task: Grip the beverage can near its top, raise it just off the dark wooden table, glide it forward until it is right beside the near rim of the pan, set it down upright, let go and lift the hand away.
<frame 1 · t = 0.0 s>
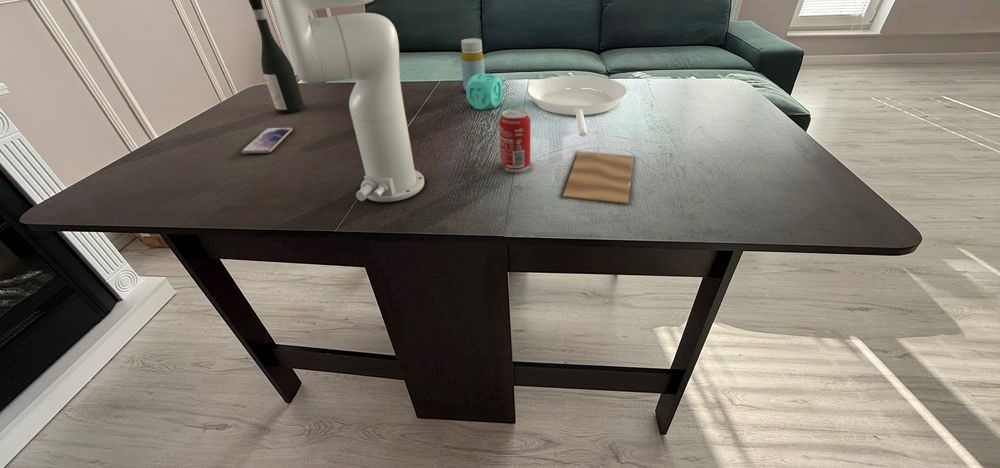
decorative dice: (485, 105, 125), on the table
beverage can: (515, 167, 92), on the table
smartphone: (269, 142, 108), on the table
wooden trivet: (600, 175, 87), on the table
pan: (576, 113, 118), on the table
wine bottle: (291, 110, 128), on the table
bottle: (474, 91, 137), on the table
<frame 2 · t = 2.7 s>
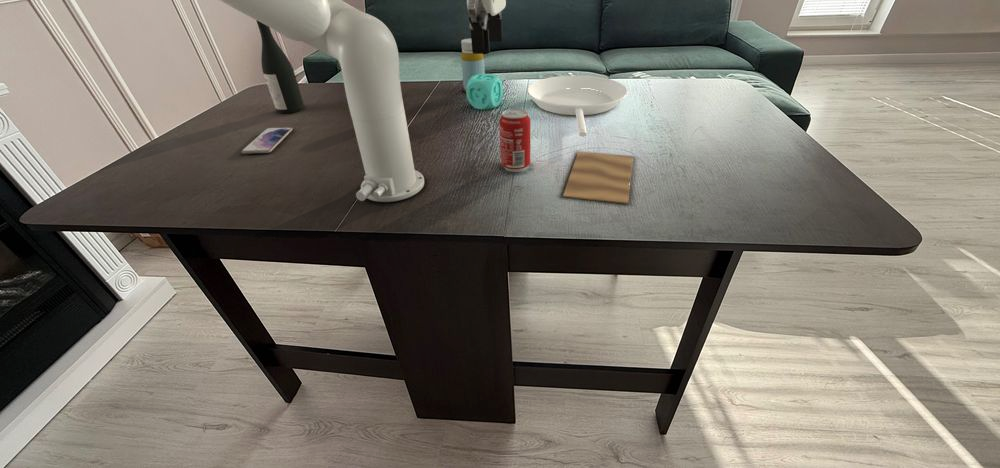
hand: (488, 47, 82), 24 cm above the table, tool pointing down, fingers open, 9 cm apart
nothing on the table moved.
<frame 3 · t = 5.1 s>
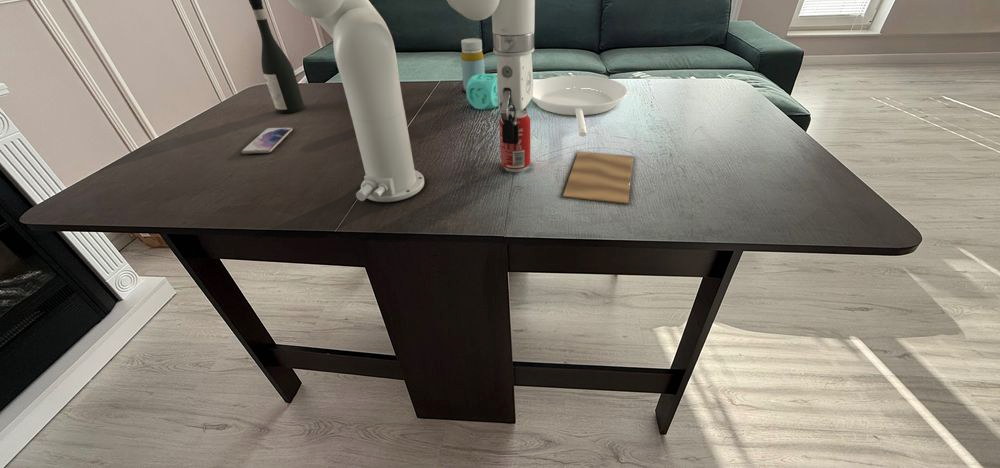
hand: (515, 135, 87), 7 cm above the table, tool pointing down, fingers closed on beverage can, 6 cm apart
beverage can: (515, 167, 92), on the table, touching gripper
everything else where it was.
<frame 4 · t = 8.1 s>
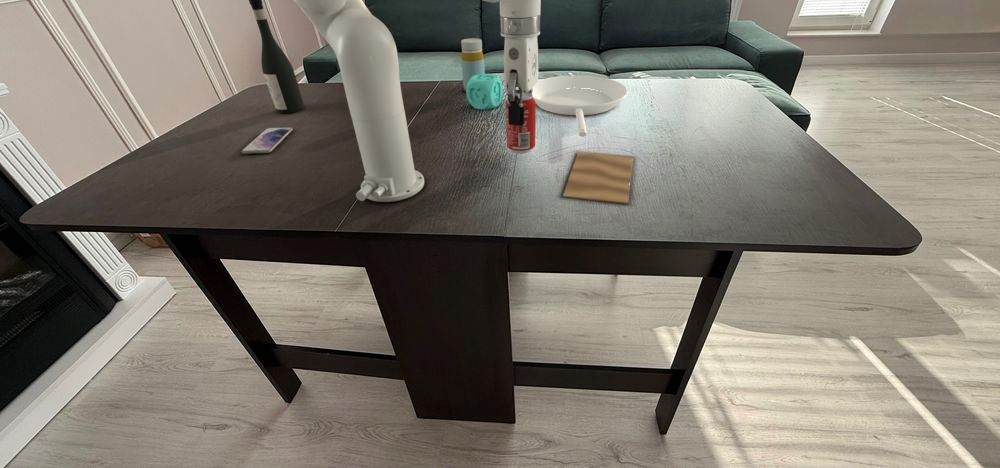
hand: (520, 117, 90), 9 cm above the table, tool pointing down, fingers closed on beverage can, 6 cm apart
beverage can: (521, 150, 94), point 2 cm above the table, touching gripper
everything else where it was.
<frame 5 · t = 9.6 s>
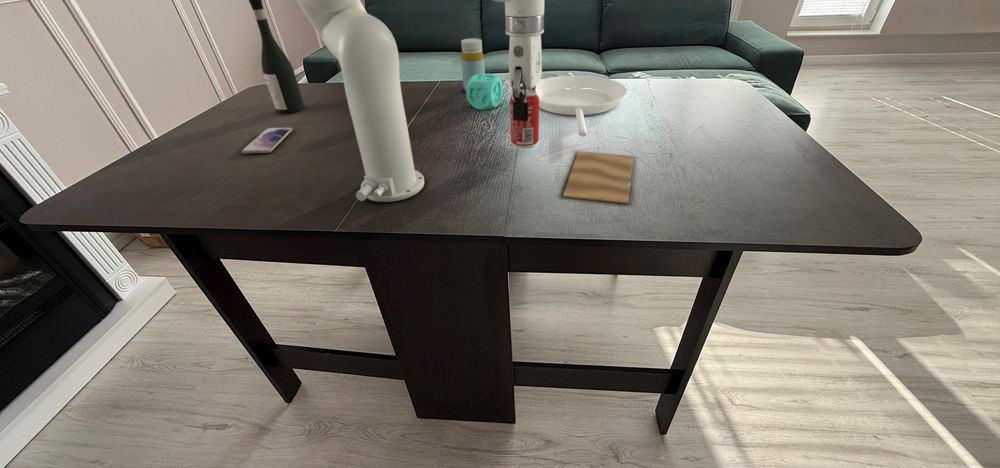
hand: (524, 113, 93), 9 cm above the table, tool pointing down, fingers closed on beverage can, 6 cm apart
beverage can: (524, 145, 97), point 1 cm above the table, touching gripper
everything else where it was.
when the fingers open (7 cm above the table, at t = 10.9 s): beverage can stays where it is, on the table.
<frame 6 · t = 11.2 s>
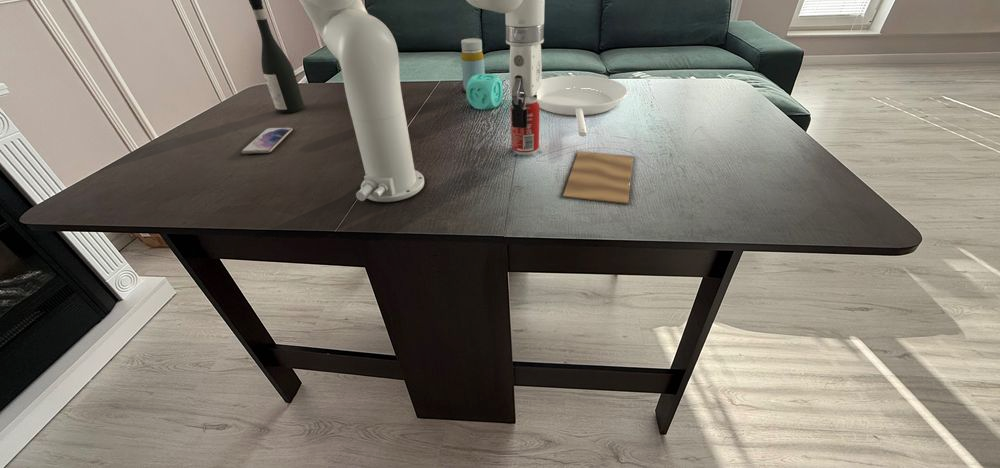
hand: (524, 119, 94), 8 cm above the table, tool pointing down, fingers open, 8 cm apart
beverage can: (525, 151, 98), on the table
everything else where it was.
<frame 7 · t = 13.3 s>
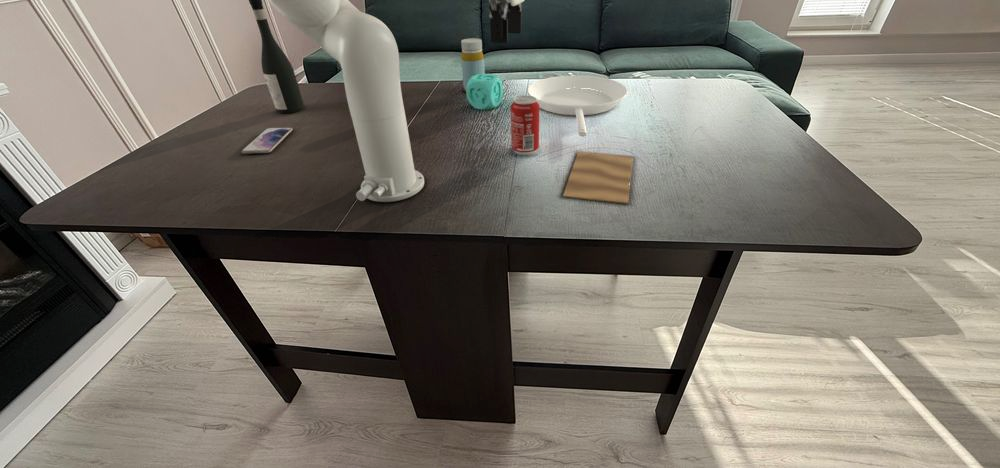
hand: (506, 37, 83), 25 cm above the table, tool pointing down, fingers open, 9 cm apart
nothing on the table moved.
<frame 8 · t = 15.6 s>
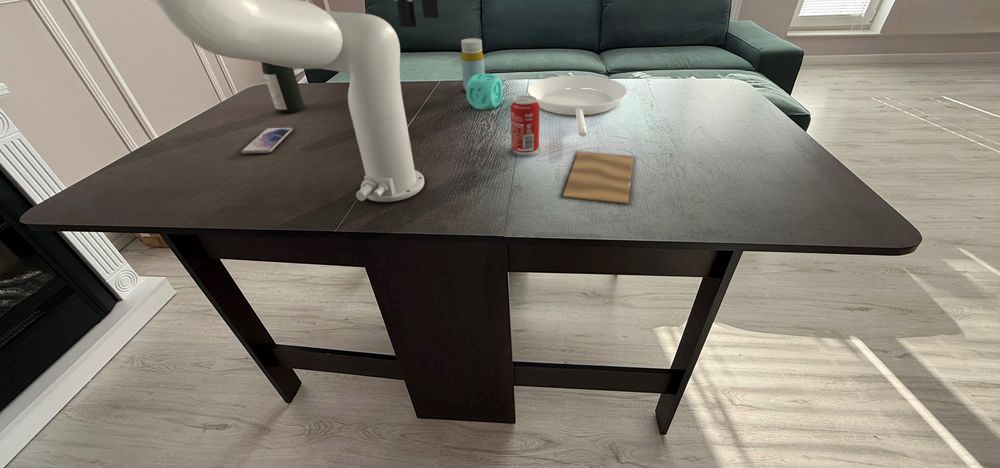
hand: (420, 21, 80), 28 cm above the table, tool pointing down, fingers open, 9 cm apart
nothing on the table moved.
at the end: beverage can inside the target area on the table beside the pan (8.0 cm from its centre), on the table; beverage can tilted 0°; pan moved 0.2 cm from its start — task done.
